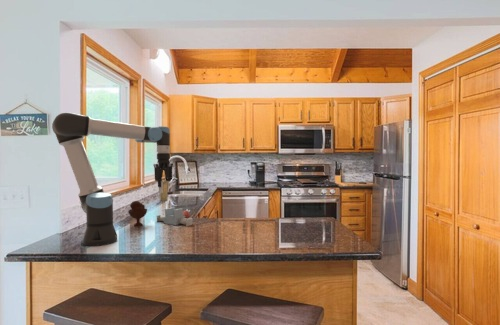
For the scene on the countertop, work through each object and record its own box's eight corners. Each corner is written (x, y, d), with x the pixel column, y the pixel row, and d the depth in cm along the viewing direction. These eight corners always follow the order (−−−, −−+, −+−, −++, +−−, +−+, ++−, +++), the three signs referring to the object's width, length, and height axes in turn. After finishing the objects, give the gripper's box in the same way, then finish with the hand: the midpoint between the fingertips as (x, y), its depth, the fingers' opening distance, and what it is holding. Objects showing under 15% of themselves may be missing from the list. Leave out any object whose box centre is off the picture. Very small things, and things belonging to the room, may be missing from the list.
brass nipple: (163, 201, 178) (163, 180, 178) (158, 200, 180) (158, 180, 180) (168, 200, 182) (168, 180, 181) (164, 200, 184) (163, 180, 184)
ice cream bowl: (144, 227, 179) (143, 201, 179) (125, 227, 179) (124, 202, 179) (150, 223, 189) (149, 199, 189) (132, 223, 190) (132, 199, 189)
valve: (185, 226, 180) (185, 211, 179) (154, 222, 193) (154, 208, 192) (201, 221, 192) (201, 207, 192) (172, 218, 206) (171, 204, 205)
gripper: (156, 152, 171) (157, 194, 172) (178, 152, 186) (178, 191, 186) (147, 152, 175) (148, 193, 175) (169, 153, 190) (169, 190, 190)
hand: (163, 192), depth 181 cm, fingers closed on brass nipple, 4 cm apart
